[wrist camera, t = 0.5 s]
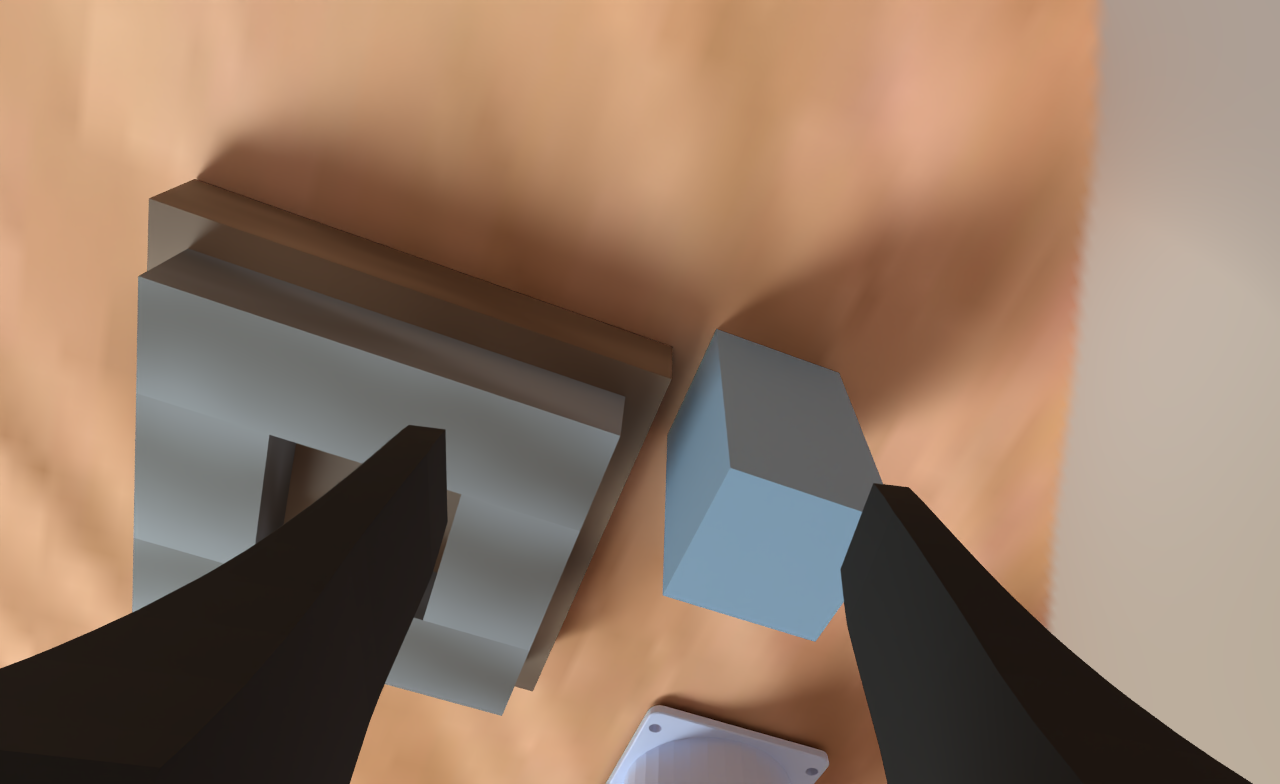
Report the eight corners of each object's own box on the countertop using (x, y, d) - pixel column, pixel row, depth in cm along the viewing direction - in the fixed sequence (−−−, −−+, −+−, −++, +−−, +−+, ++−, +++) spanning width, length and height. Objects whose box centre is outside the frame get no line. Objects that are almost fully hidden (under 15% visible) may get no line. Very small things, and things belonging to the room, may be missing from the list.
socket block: (541, 647, 29) (522, 740, 25) (174, 542, 27) (99, 627, 23) (672, 346, 22) (671, 417, 18) (194, 178, 20) (93, 221, 17)
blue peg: (781, 472, 24) (815, 641, 18) (667, 434, 24) (663, 595, 17) (839, 372, 22) (898, 523, 16) (716, 328, 22) (730, 467, 16)
